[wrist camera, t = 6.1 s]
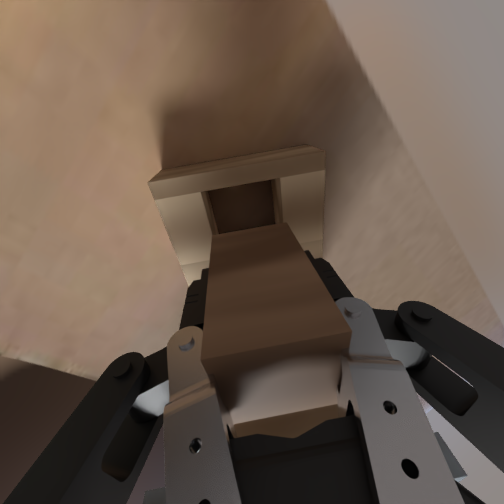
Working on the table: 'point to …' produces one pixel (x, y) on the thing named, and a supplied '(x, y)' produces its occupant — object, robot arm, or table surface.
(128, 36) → the table surface
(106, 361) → the table surface
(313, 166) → the socket stand
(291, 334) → the peg
